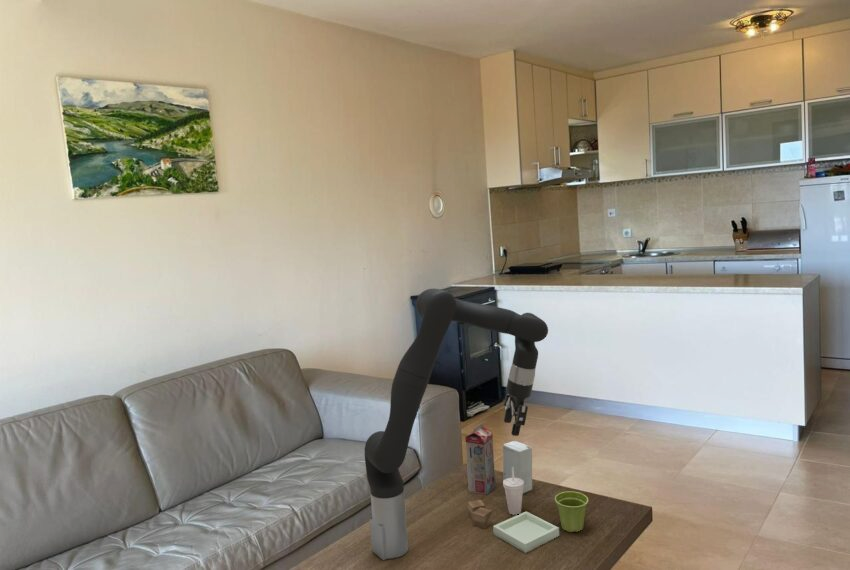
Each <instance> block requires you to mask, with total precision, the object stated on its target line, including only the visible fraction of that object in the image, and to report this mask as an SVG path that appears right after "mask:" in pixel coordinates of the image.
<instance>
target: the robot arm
mask: <svg viewBox="0 0 850 570" xmlns="http://www.w3.org/2000/svg"><path fill="white" fill-rule="evenodd" d="M415 306H416V310H417V313H418V315H419V316H420V317H421V318H422V321H421V323H420V327H419V330H418V332H417V334H416V337H415V339H414V340H413V342H412V343H411V345H410V346H409V347H408V349H407V350H406V352H405V353H404V354H403V356H402V357H401V360H400V361H399V364H398V366H397V369H396V371H395V375H394V377H393V380H392V383H391V390H390V403H389V405H390V407H389V408H390V409H389V417H388V421H387V424H386V427H385V429H384V430H380V431H376V432H373V433H372V434H371V435H370V436H368V438H367V439H366V442H365V446H364V461H365V462H364V463H365V471H366V477H367V478H366V479H367V482H368V486H369V491H370V502H371V517H372V518H369V527H370V528H369V529H370V539H371V541H370V542H371V552H372V551H373V553H374V554H375V555H377V556H378V558H380V559H381V560H383V561H385V560H388V559H389V560H391V559H396V558H400V557H403V555H405V554H407V552H408V550H409V543H408V542H409V541H408V530H407V529H408V527H407V512H406V499H405V498H406V496H405V487H404V486H405V485H404V479H403V477H402V474H401V472H400V470H399V468H400V467H401V466H402V465H403V463H404V461H405V460H406V459H405V458H406V455H407V451H408V447H409V442H410V439H411V434H412V430H413V427H414V423H415V420H416V418H417V417H418V416H417V415H418V413H419V409H420V406H421V404H422V400H423V398H424V394H425V393H426V389H427V388H428V384H429V382H430V378H431V375H432V372H433V369H434V366H435V364H436V363H435V362H436V360H437V358H438V355H439V352H440V348H441V346H442V343H443V340H444V338H445V337H446V336H445V335H446V334H447V331H448V330H449V327H450V325H451V323H452V322H459V323H463V324H467V325H470V326H474V327H477V328H481V329H484V330H487V331H491V332H496V333H499V334H500V333H501V334H506V335H510V336H512V337H513V336H514V347H515V348H514V349H515V350H514V353H513V358H512V362H511V366H510V369H509V374H508V379H507V384H506V388H505V391H506V393H505V398H504V401H503V406H504V412H505V413H504V417H503V421H504V423H506V424H510V423H512V420H513V423H512V427H511V435H512V436H514V437H516V436H517V437H518V436H519V435H520V433H521V432H520V431H521V426H525V424H526V419H527V414H528V406H527V405H525V403H526V402H525V400H526V399H528V398H530V397H531V396H532V391H533V386H534V381H535V378H536V377H535V376H536V368H537V363H538V359H539V351H538V348H537V347H536V343H538V342H541V341H544V340H545V339H546V337H547V336H548V334H549V327H548V325H547V323H546V322H545V320H543V319H542V318H540V317H539V316H537V315H535V314H534V313H532V312H524V313H522V314H519V313H518V312H515V311H513V310H511V309H507V308H504V307H500V306H499V307H497V306H494V305H489V304H482V303H477V302H471V301H466V300H461V299H458V298H455V296H454V295H453V294H452V292H450V291H448V290H445V289H439V288H428V289H425V290H423V291H421V292H420V294H419V295H418V296H417V299H416V302H415Z"/></svg>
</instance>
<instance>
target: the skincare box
mask: <svg viewBox="0 0 850 570" xmlns="http://www.w3.org/2000/svg"><path fill="white" fill-rule="evenodd" d="M502 448H503V449H502V450H503V451H502V456H503V458H502V459H503V460H502V463H503V464H502V465H503V466H502V467H503V468H502V469H503V470H502V471H503V472H502V475H503V476H502V480H503V481H504V480H505V479H507V478H512V467H514V478H520V479H522V480H523V481H524V487H523V494H525V493H527V492H529V491H532V490H533V447H531V446H529V445H527V444H525V443H523V442H519V441H517V440H513V441H509V442H507V443H503V445H502Z"/></svg>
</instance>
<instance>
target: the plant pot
mask: <svg viewBox="0 0 850 570" xmlns="http://www.w3.org/2000/svg"><path fill="white" fill-rule="evenodd" d="M554 501H555V503H556V506H557V508H558V514H559V519H560V527H561V528H562V530H564V531H565V530H566V531H565V532H569V533H573V532H577V533H579V532H580V530H581V531H582V530H583V529H584V526H585V525H584V523H585V515H586V508H587V506H588V504H589V497H588V496H587V495H585V494H584V493H582V492H578V491H573V490H572V491H570V490H569V491H563V492H559V493H558V494H556V495H554ZM578 531H579V532H578Z"/></svg>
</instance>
